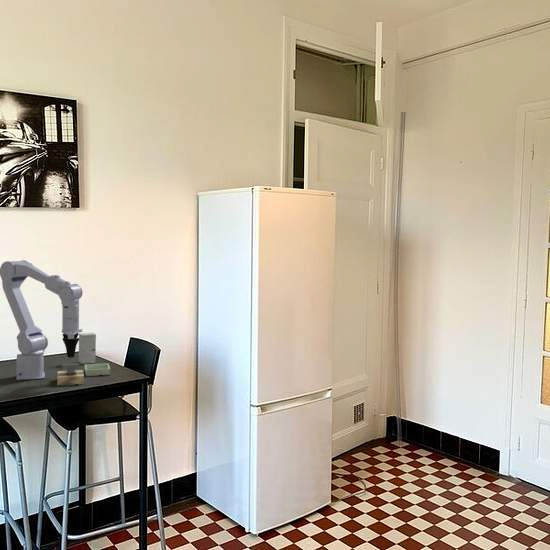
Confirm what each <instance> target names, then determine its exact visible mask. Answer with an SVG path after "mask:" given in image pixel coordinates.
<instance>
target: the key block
mask: <svg viewBox="0 0 550 550" xmlns="http://www.w3.org/2000/svg"><path fill="white" fill-rule="evenodd" d="M56 374H57V375H56V376H57V377H56V379H57V380H56V381H57V385H56V386H57V387H58V385H61V386H75V384H78V385H84V384H85V375H84V374H85V372H84V370H83V369H81V370H80V369H74V375H67V370H61V371H60V370H59V371H57V373H56Z"/></svg>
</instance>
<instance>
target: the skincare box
mask: <svg viewBox="0 0 550 550" xmlns="http://www.w3.org/2000/svg"><path fill="white" fill-rule="evenodd" d="M78 338H79V341H78V363H79V364H80V365H83V364H84V365H86V364H96V348H97V346H96V343H97V342H96V341H97V334H96V333H94V332H85V333H84V332H83V333H82V332H79V335H78Z"/></svg>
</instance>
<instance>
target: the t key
mask: <svg viewBox="0 0 550 550" xmlns="http://www.w3.org/2000/svg"><path fill="white" fill-rule="evenodd" d="M64 370H66V371H67V375H74V371H75V370H80V363H79V362H76V363H75V362H73V363H72V362H71V363H61V371H64Z"/></svg>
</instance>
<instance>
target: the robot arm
mask: <svg viewBox="0 0 550 550" xmlns="http://www.w3.org/2000/svg"><path fill="white" fill-rule="evenodd" d="M28 277H29V278H31V279H33V280H35V281H37V282H40V283H42V284H44V286H45V287H44V288H45V289H46V290H48V291H50V292H52V293H53V294H55V295H57V296H58V298H59V299H60V301H61V307H62V310H61V311H62V319H61V320H62V321H61V323H62V326H61V333H62V334H61V335H62V341H63V344H64V347H65V351H66V356H67V358H74V357H75V353H76V349H77V345H78V344H79V333H82V332H83V328H81V329H80V299H81V298H82V297H83V289H82V286H80V284H77V283H73V284H71V282H70V281H68V280H67V281H66V280H64V279H62V278H61V276H60V275H58V274H53V275H49V274H47V273H45V272H44V271H43V270H41V269H39V268H38V267H36V266H35V265H33V263H31V262H29V261H27V260H24V259H23V260H14V261H7V260H6V261H3V263H1V266H0V279H1V285H2V286H1V287H2V290H3V292H4V294H5V298H6V299H7V303H8V304H9V308H10V311H11V312H12V316H13V318H14V320H15V322H16V325H17V327H18V329H19V333H18V334H17V336H16V340H17V348H18V351H19V352H20V353H19V354H16V369H15V375H16V381H23V380H24V381H25V380H26V381H27V380H38V379H39V380H41V379H45V377H46V372H45V371H44V365H45V364H44V363H45V362H44V358H45V357H44V354H45V351H46V349H47V348H48V345H49V339H48V337H47V336H46V334H44V333H43V330H42V329H41V328H39V327H38V326H36V325H35V322H34V319H33V317H32V315H31V312H30V310H29V306H28V304H27V302H26V300H25V298H24V295H23V293H22V290H21V286H22V284H23V283H24V282H25V280H26V279H27V278H28Z"/></svg>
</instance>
